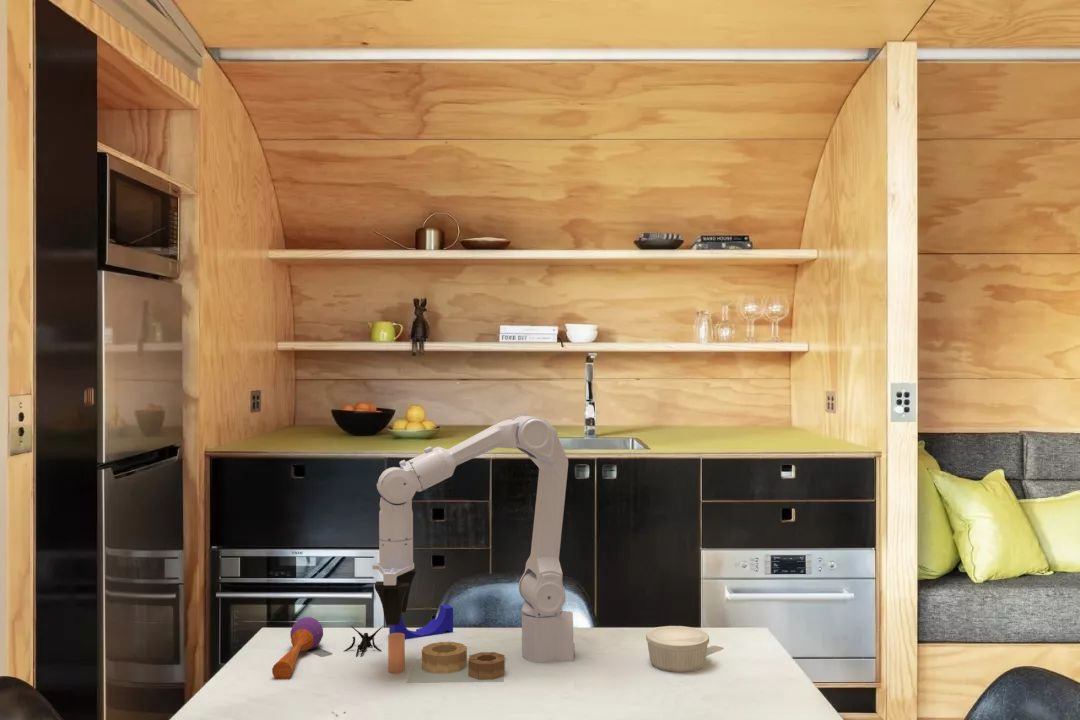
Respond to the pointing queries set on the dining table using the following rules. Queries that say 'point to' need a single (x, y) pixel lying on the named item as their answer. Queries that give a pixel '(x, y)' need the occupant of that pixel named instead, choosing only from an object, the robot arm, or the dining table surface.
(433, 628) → the blue curved cradle
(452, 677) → the board
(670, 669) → the ramekin
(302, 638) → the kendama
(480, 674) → the walnut bead
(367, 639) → the creature
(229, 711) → the dining table surface
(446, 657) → the oak bead
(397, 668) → the orange rounded peg
